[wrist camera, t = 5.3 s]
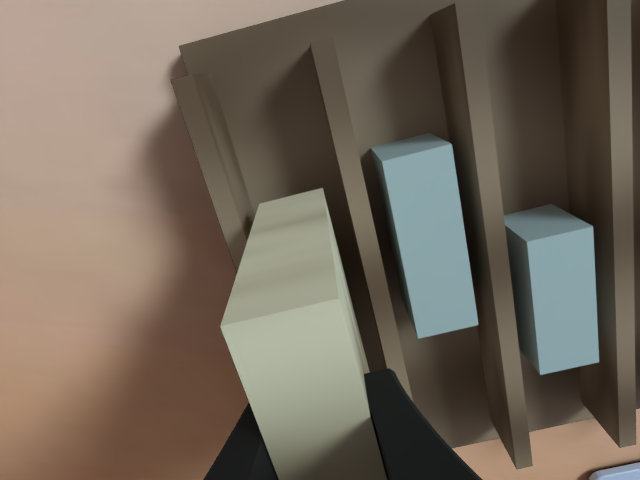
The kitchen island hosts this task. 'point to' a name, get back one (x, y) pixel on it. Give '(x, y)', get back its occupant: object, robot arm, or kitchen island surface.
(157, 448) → the kitchen island surface
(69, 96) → the kitchen island surface
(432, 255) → the offcut
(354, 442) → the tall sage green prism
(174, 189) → the kitchen island surface
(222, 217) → the rack
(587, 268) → the offcut
